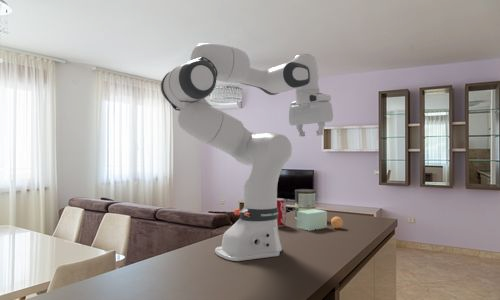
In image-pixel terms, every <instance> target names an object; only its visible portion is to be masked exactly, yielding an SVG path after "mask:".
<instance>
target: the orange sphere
mask: <svg viewBox="0 0 500 300" xmlns="http://www.w3.org/2000/svg"><path fill="white" fill-rule="evenodd" d="M330 220H331V221H330V224H331V226H332V228H334V229H341V228H342V227H343V224H344V221H343V219H342V218H341V217H340V216H334V217H332V218H331V219H330Z"/></svg>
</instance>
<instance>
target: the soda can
mask: <svg viewBox="0 0 500 300" xmlns="http://www.w3.org/2000/svg"><path fill="white" fill-rule="evenodd" d="M277 207H278V220H277V225H278V228H283V227H284V226H286V223H287V204H286V201H285V198H282V197H281V198H280V197H277Z"/></svg>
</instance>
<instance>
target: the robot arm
mask: <svg viewBox="0 0 500 300" xmlns="http://www.w3.org/2000/svg"><path fill="white" fill-rule="evenodd" d="M217 81H218V82H223V83H232V84H242V85H244V86H249V87H254V88H257V89H259V90H261V91H263V93H265V94H267V95H269V96H275V95H278V94H281V93H285V92H288V91H292V90H295V101H292V102H291V104H290V105H289V110H288V111H289V112H288V123H289V125H290V126H291V127H292V126H295V127H296V130H297V132H298V136H299V137H300V138H301V137H302V138H303V137H305V136H306V132H305V131H304V129H303V126H304V125H311V124H317V126H318V128H317V130H316V136H323V135H324V129H325V126H326V123H330V122H332V120H333V118H334V115H333V114H334V113H333V106H332V103H331V100H332V96H331V95H330V94H325V93H322V92H320V91H321V90H320V87H319V69H318V63H317V59H316V57H315V56H314V55H312V54H309V53H302V54H297V55H295V57H294V58H293V59H292V60H290V61H287V62H285V63H282V64H279V65H277V66H274V67H271V68H267V69H264V70H261V69H257V68H253V67H251V61H250V58H249V56H248V54H247V53H246V52H245V51H244V50H242V49H240V48H238V47H234V46H230V45H225V44H220V43H207V42H205V43H198V44H197V45H196V46H195V47H194V48H193V49H192V51H191V55H190V60H189V61H188V62H186V63H184V64H182V65H179V66H176V67H174V68H173V69H172V70H170V71H168V72H167V73H166V74H165V75H164V77H163V78H162V80H161V83H160V91H161V93H162V96H163V98H164V99H165V100H166V101H167V102H168V103H169V104H170V105H171V107H172V108H173V109H174V110H175V111H179V113H178V116H177V122H178V126H179V127H180V128H181V129H182V130H184V131H185V132H186V133H188V134H189V135H190V136H192V137H194V138H195V139H197V140H199V141H201V142H202V143H206V144H207V145H209V146H212V147H214V148H216V149H218V150H221V151H222V152H224V153H227V155H230V156H231V157H232V158H233V159H235V160H236V161H237V162H238V163H240V164H243V165H246V166H252V167H251V172H250V175H249V177H248V179H247V180H245V182H244V185H243V198H244V199H243V200H244V201H243V207H242V209H239V208H234V209H233V213H234V215H236V216H239V219H238V220H237V221H236V222H235V223H234V224H233V225H231V226H230V227H229V228H228V229H227V230H226V231H225V232H224V233H223V236H222V239H221V240H222V241H221V246H217V247H215V250H214V253H215V254H216V255H217V256H218V257H221V258H223V259H225V260H228V261H232V262H233V261H235V262H240V261H248V260H249V261H250V260H256V259H264V258H273V257H279V256H280V255H281V254H280V252H282V250H283V248H282V244H281V241H280V235H279V227H278V225H277V220H278V207H277V198H278V182H279V178H280V176H281V171H282V170H283V167H284V166H285V165H286V163H287V162H288V161H290V158H291V156H292V153H293V148H292V143H291V140H289V138H288V137H287V136H286V135H285V134H280V133H277V132H262V133H261V132H260V133H257V132H253V131H250V130H248V129H247V128H246V127H245V126H244V124H243V122H242V121H241V120H239V119H238V118H236V117H234V116H232V115H230V114H228V113H227V112H224V111H223V110H220V109H218V108H217V107H215V106H212V104H210V103H209V102H208V100H206V98H207V97H208V96H209V95H210V94H212V92H213V91H214V89H215V87H216V86H217V85H216V84H217Z"/></svg>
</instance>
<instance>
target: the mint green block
mask: <svg viewBox="0 0 500 300" xmlns="http://www.w3.org/2000/svg"><path fill="white" fill-rule="evenodd" d="M327 223H328V212H327V210H322V209H317V208H316V209H311V210H303V211H297V219H296V228H297V229H299V230H305V231H307V230H308V232H309V231H314V230H315V229H316V230H321V229H326V228H327V227H328V224H327ZM316 230H315V231H316Z"/></svg>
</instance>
